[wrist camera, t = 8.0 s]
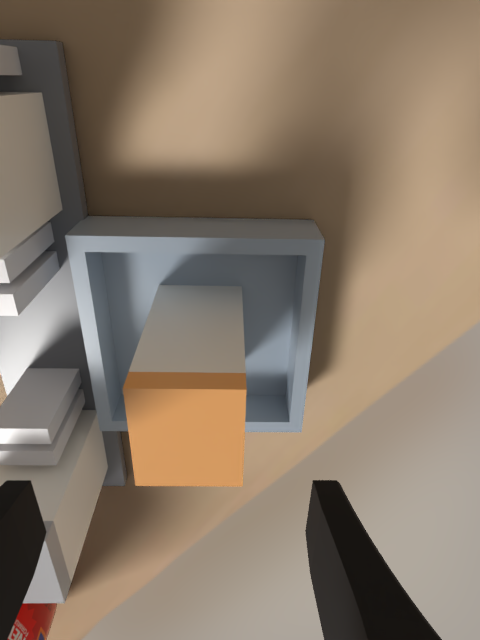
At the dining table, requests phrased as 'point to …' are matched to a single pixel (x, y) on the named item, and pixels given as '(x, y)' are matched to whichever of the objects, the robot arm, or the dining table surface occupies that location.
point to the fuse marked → (189, 389)
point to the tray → (201, 270)
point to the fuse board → (46, 290)
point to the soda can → (33, 621)
